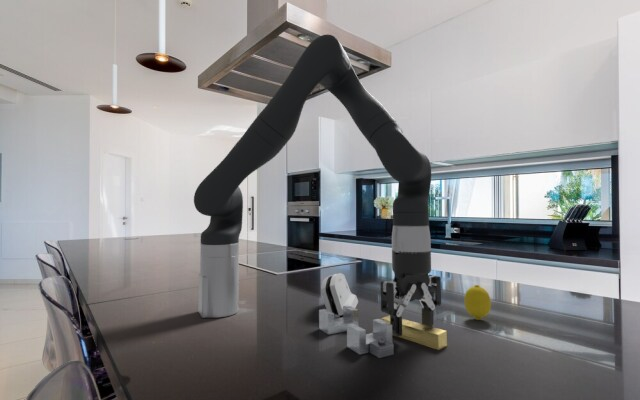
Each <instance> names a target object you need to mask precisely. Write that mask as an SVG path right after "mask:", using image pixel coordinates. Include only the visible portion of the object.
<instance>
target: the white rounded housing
mask: <svg viewBox="0 0 640 400" xmlns="http://www.w3.org/2000/svg"><path fill="white" fill-rule="evenodd" d="M320 292H321V296H322V300H323V302H324V305H325V306H324V307H325V309H326V310H328V311H330V312H332V313H334V314H336V315H338V316H343V306H347V305H349V306H351V307H353V308H356V309H357V305H358V303H359V299H358V298H357V295H356V294H354V293H352V292H351V289H350V287H349V284H348V281H347V279H346V276H345V274H344V273H342V272H339V273H334V274H332V275H331V274H330V275H328V276H327V277H325V278H324V279H323V280H322V282H321V288H320Z"/></svg>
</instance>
